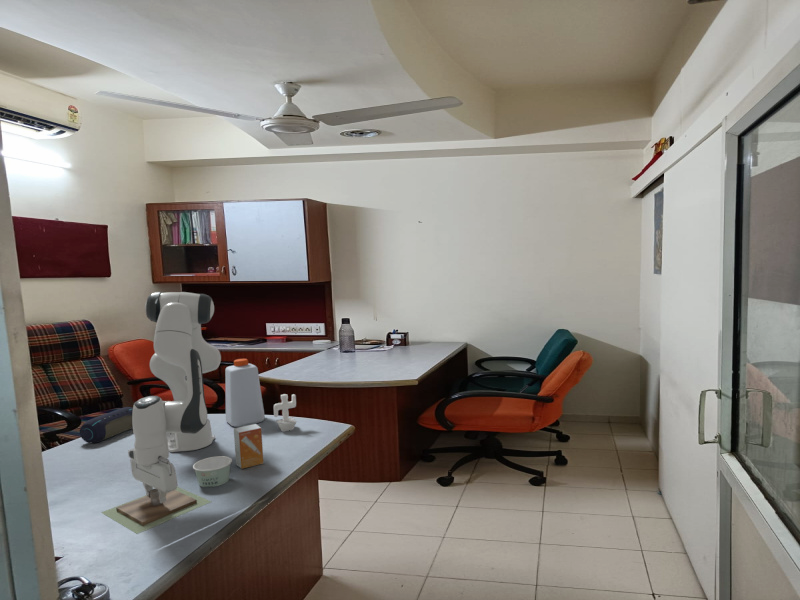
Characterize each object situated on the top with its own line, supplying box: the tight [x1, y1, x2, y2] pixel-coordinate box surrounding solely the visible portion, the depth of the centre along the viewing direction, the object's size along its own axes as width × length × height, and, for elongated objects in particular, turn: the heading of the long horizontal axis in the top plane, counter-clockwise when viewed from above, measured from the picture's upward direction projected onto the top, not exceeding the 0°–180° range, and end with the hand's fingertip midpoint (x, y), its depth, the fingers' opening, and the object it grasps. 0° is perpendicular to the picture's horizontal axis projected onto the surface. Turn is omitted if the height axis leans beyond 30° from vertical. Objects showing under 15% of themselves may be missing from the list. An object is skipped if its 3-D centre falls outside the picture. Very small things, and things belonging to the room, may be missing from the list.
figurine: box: [273, 393, 297, 433], centre depth 223 cm, size 7×9×15 cm
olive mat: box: [101, 486, 212, 535], centre depth 156 cm, size 22×22×1 cm
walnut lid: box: [115, 488, 197, 526], centre depth 156 cm, size 16×16×5 cm
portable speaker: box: [79, 406, 133, 444], centre depth 228 cm, size 25×10×10 cm, turn 162°
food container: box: [192, 455, 233, 488], centre depth 173 cm, size 12×12×7 cm
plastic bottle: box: [224, 358, 265, 428], centre depth 238 cm, size 15×15×28 cm
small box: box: [233, 423, 265, 470], centre depth 187 cm, size 8×6×13 cm
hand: (156, 499), depth 156 cm, fingers open, 5 cm apart
